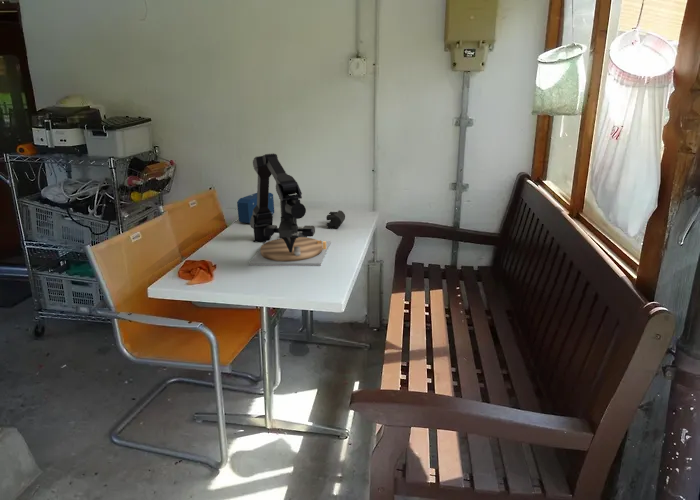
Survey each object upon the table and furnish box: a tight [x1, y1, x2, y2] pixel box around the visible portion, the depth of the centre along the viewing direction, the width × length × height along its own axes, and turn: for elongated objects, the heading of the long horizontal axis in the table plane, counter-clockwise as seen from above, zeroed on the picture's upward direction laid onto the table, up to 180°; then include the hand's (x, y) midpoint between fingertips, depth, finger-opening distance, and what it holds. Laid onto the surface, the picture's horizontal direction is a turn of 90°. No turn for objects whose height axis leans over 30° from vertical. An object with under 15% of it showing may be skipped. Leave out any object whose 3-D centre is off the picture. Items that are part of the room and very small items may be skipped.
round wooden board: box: [259, 237, 323, 261], centre depth 220 cm, size 25×25×5 cm
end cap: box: [325, 209, 346, 230], centre depth 256 cm, size 10×7×7 cm
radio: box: [236, 192, 275, 225], centre depth 271 cm, size 21×9×20 cm, turn 152°
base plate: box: [248, 240, 332, 267], centre depth 220 cm, size 28×28×4 cm
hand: (290, 252), depth 209 cm, fingers closed
